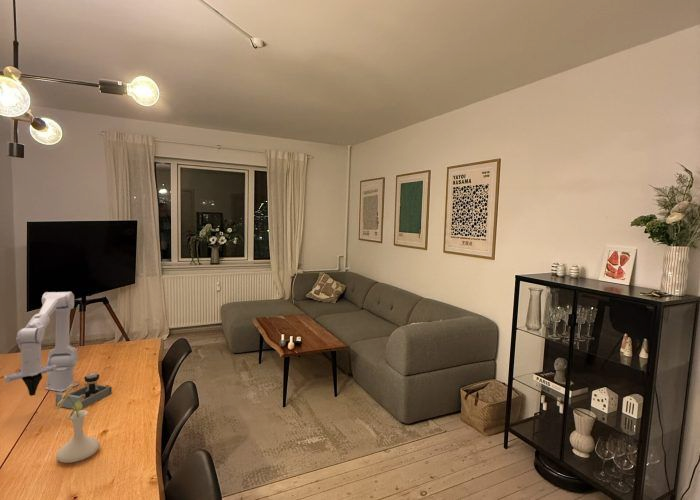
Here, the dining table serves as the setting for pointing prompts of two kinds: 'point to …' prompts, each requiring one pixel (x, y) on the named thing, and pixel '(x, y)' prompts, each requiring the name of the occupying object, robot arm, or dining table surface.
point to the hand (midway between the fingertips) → (32, 394)
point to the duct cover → (67, 400)
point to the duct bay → (88, 401)
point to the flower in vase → (76, 435)
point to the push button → (91, 384)
